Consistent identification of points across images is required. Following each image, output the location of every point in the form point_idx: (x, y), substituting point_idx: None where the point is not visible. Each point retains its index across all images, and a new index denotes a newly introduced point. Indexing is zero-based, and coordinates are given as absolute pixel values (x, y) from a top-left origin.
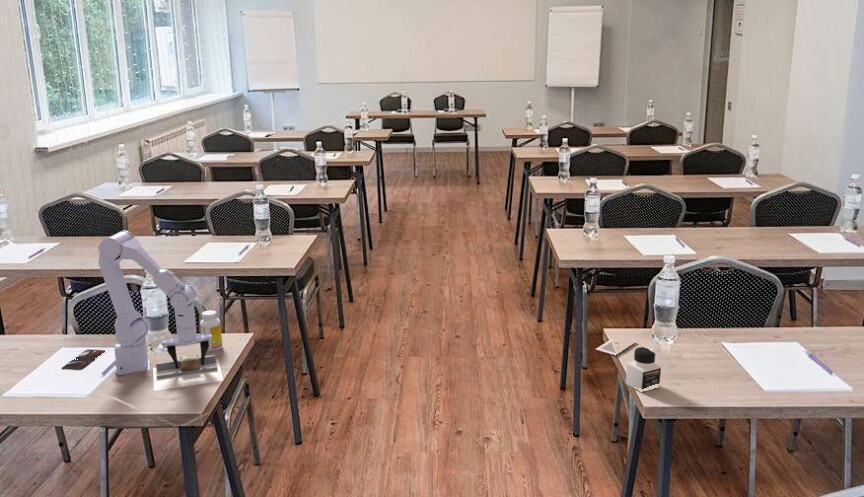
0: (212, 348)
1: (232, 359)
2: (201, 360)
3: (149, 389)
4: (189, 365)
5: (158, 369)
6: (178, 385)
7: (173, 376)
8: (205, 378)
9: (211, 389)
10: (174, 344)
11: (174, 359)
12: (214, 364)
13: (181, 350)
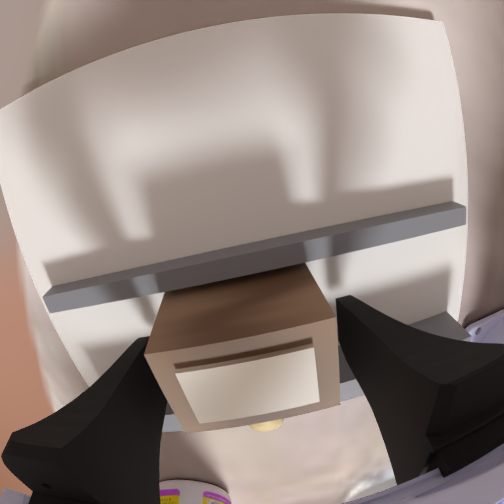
0: (176, 489)
1: (54, 406)
2: (146, 366)
3: (467, 85)
4: (241, 305)
5: (442, 319)
6: (298, 46)
7: (359, 221)
8: (94, 149)
9: (54, 12)
10: (481, 476)
11: (399, 331)
12: (102, 368)
13: (315, 485)
